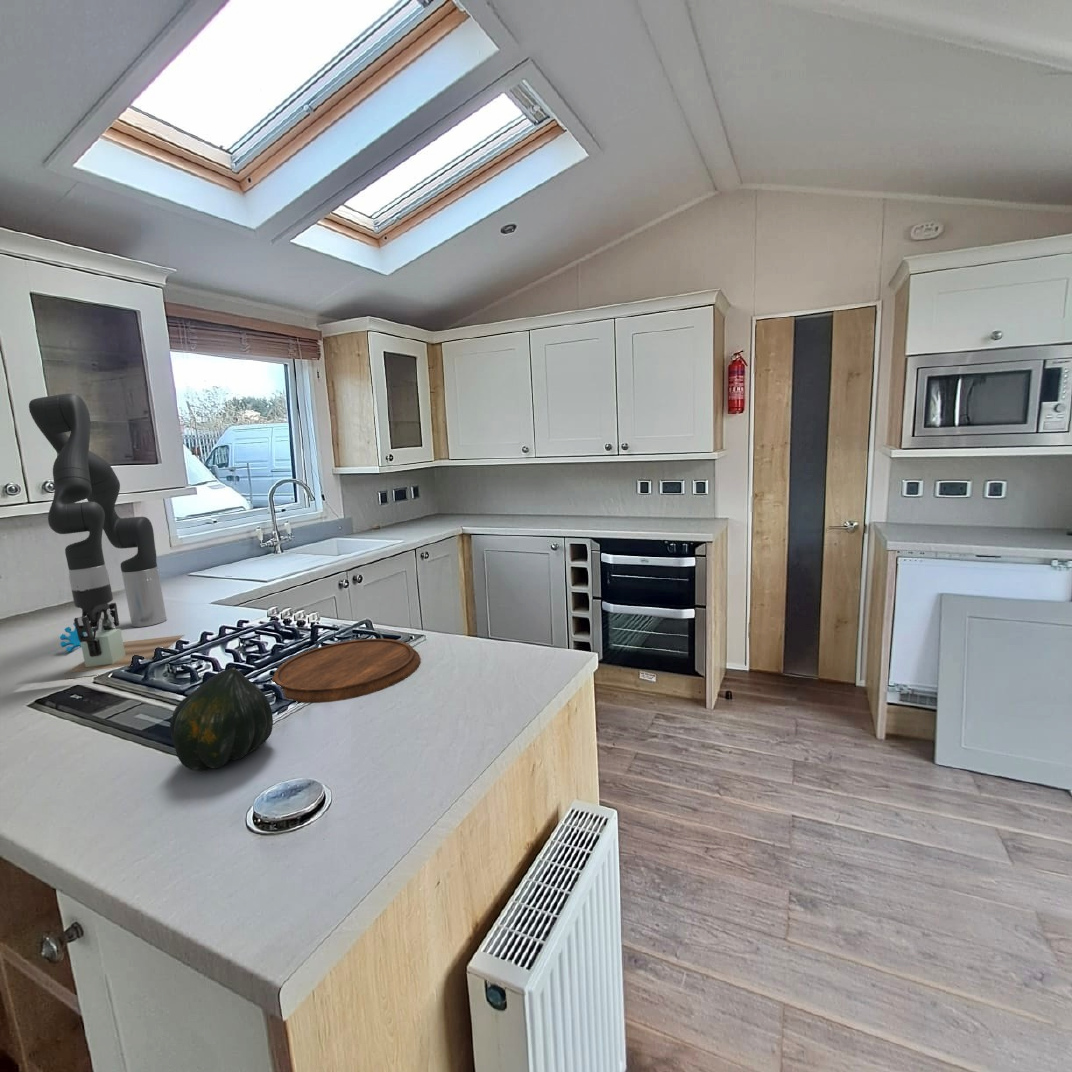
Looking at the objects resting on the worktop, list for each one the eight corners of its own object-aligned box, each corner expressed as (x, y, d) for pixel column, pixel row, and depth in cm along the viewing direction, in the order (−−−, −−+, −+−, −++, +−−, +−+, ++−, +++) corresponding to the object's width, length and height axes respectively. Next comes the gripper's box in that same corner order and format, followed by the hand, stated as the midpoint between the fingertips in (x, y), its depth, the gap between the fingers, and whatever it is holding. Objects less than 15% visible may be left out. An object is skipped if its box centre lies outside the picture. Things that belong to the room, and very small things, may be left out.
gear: (53, 652, 154) (64, 618, 160) (61, 662, 159) (71, 629, 165) (103, 650, 158) (112, 617, 164) (109, 660, 162) (117, 628, 168)
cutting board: (234, 697, 121) (232, 685, 121) (336, 643, 151) (334, 634, 150) (363, 711, 110) (361, 698, 109) (446, 650, 139) (444, 640, 139)
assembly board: (114, 648, 159) (110, 629, 158) (186, 640, 162) (182, 620, 161) (65, 679, 138) (60, 657, 137) (148, 669, 140) (144, 647, 140)
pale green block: (99, 658, 147) (94, 631, 146) (125, 655, 148) (120, 628, 146) (85, 667, 141) (79, 639, 140) (113, 663, 142) (107, 636, 141)
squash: (131, 750, 89) (184, 676, 87) (193, 709, 103) (239, 644, 102) (207, 806, 89) (261, 733, 87) (258, 757, 104) (305, 694, 102)
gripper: (90, 580, 147) (103, 643, 150) (54, 594, 133) (69, 663, 136) (123, 577, 149) (135, 639, 151) (91, 590, 135) (104, 659, 137)
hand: (103, 650), depth 144 cm, fingers open, 6 cm apart
